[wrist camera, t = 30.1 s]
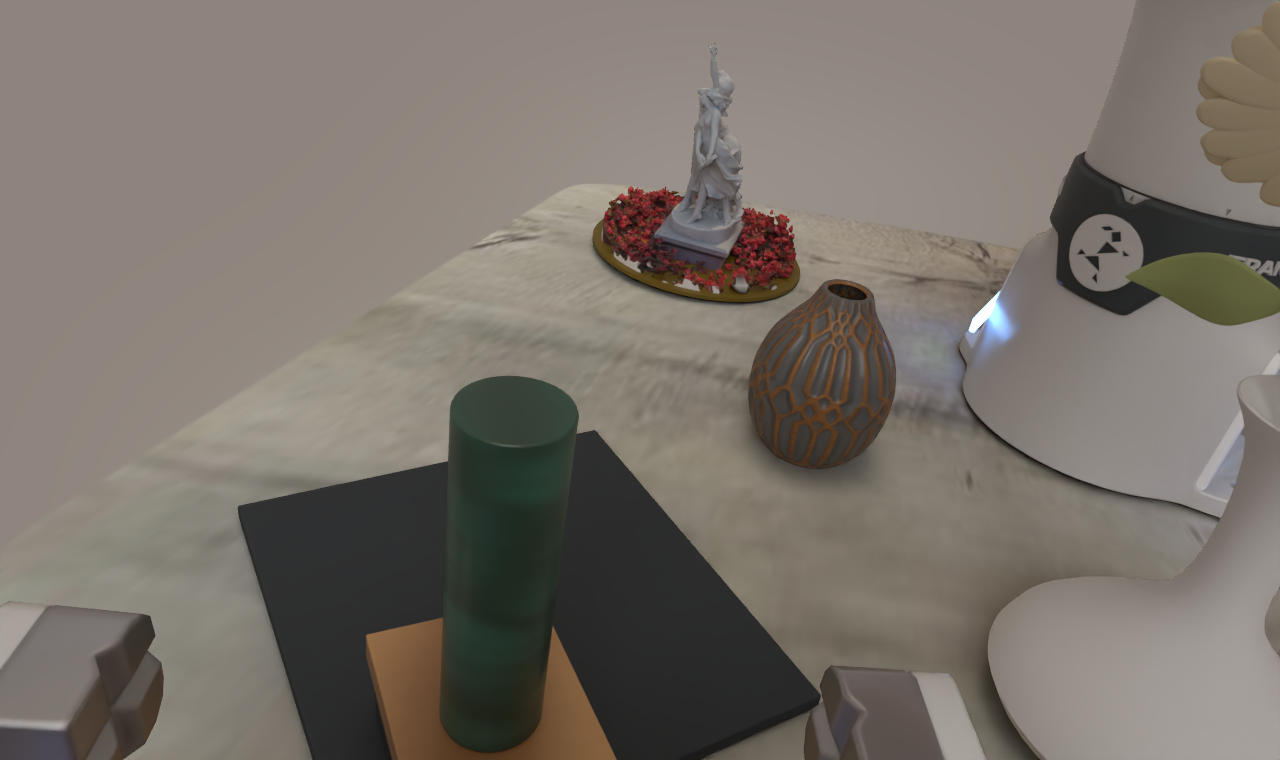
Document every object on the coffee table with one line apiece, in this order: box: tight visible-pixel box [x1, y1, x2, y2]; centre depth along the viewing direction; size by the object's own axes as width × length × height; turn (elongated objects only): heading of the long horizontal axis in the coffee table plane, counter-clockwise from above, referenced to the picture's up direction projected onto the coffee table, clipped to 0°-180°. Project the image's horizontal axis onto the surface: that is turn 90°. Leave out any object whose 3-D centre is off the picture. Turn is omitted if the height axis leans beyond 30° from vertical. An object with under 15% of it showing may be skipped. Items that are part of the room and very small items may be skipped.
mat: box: [238, 430, 821, 760], centre depth 34 cm, size 16×17×1 cm
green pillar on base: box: [366, 376, 617, 760], centre depth 23 cm, size 5×7×14 cm
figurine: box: [593, 43, 800, 302], centre depth 61 cm, size 15×15×14 cm
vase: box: [748, 279, 896, 468], centre depth 44 cm, size 7×7×9 cm
